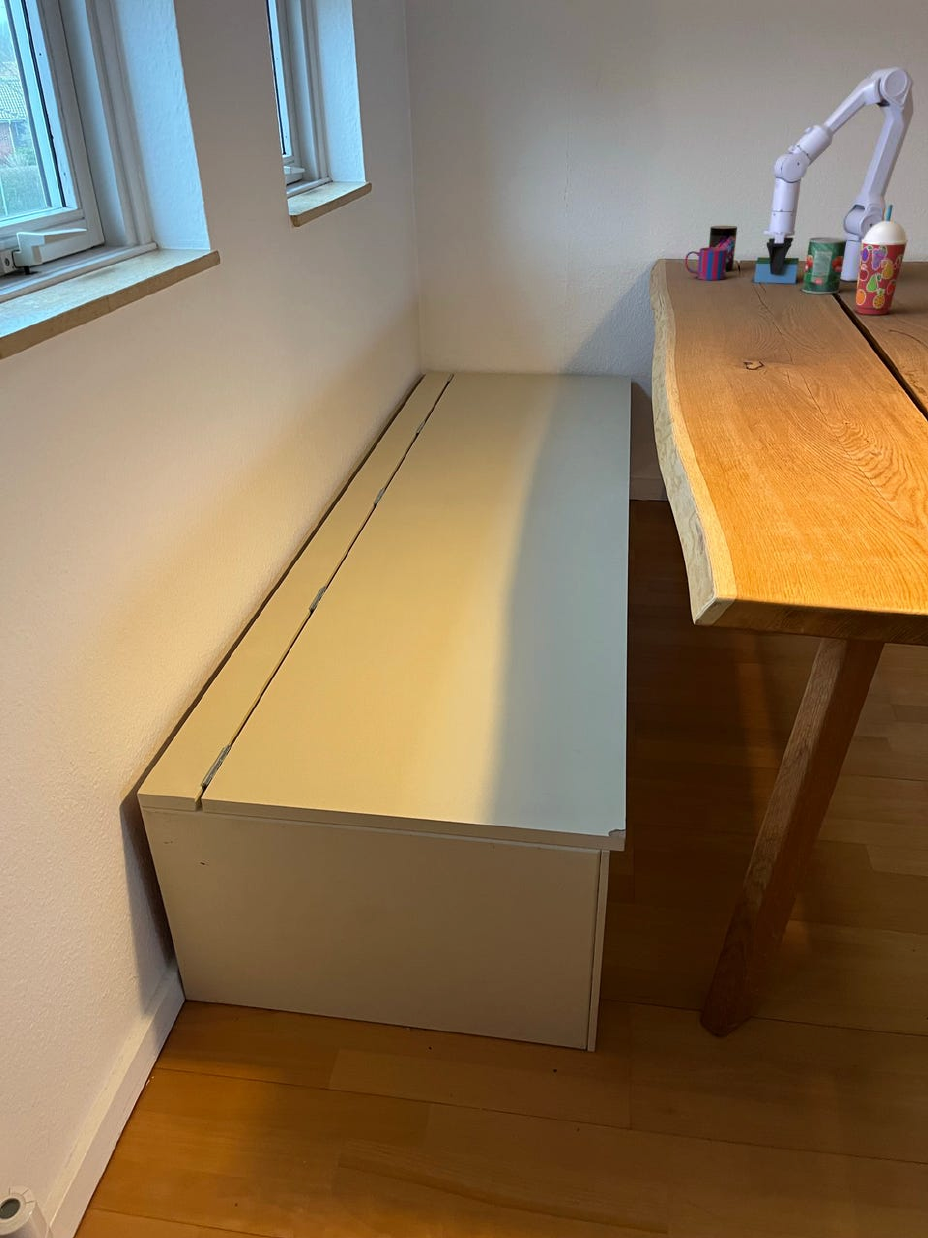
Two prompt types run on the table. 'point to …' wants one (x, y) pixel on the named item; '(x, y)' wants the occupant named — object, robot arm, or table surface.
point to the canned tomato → (824, 265)
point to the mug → (710, 263)
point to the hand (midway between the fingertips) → (776, 271)
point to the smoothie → (880, 266)
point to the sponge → (785, 276)
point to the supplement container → (724, 241)
